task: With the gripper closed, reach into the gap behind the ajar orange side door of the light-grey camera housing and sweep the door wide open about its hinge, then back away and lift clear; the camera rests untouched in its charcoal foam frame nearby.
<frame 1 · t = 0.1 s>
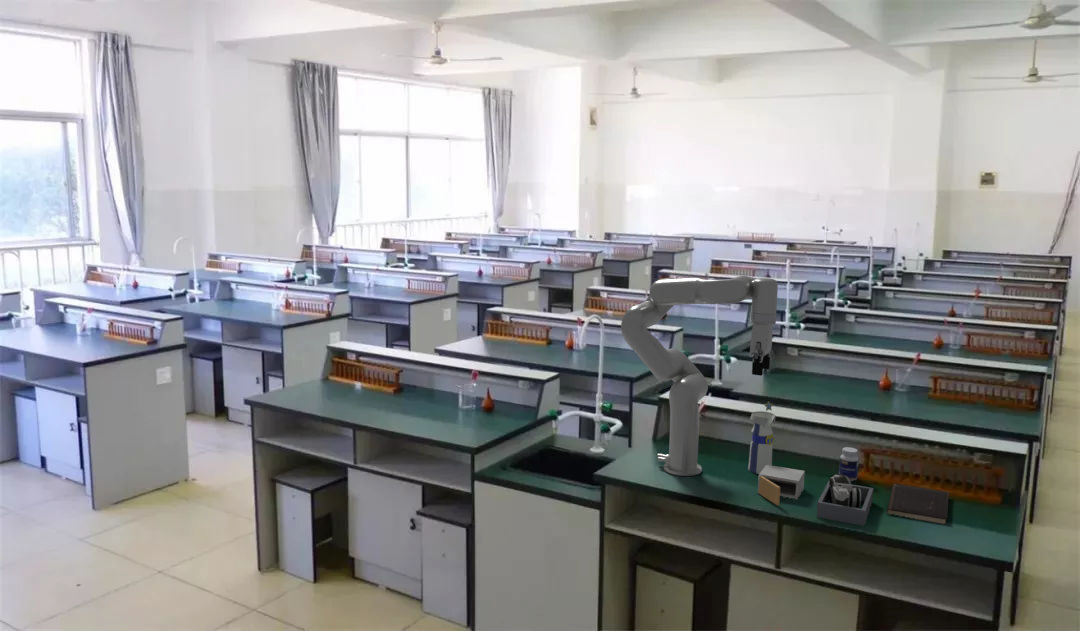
hand: (760, 371, 265), 37 cm above the worktop, tool pointing down, fingers open, 9 cm apart
hardcover book: (917, 508, 254), on the worktop
pill bottle: (847, 479, 276), on the worktop
camera rest: (845, 509, 250), on the worktop
housing: (780, 490, 265), on the worktop
side door: (768, 489, 257), point 3 cm above the worktop, hinge at 45.0°
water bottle: (760, 470, 283), on the worktop
camera: (844, 510, 250), resting in camera rest
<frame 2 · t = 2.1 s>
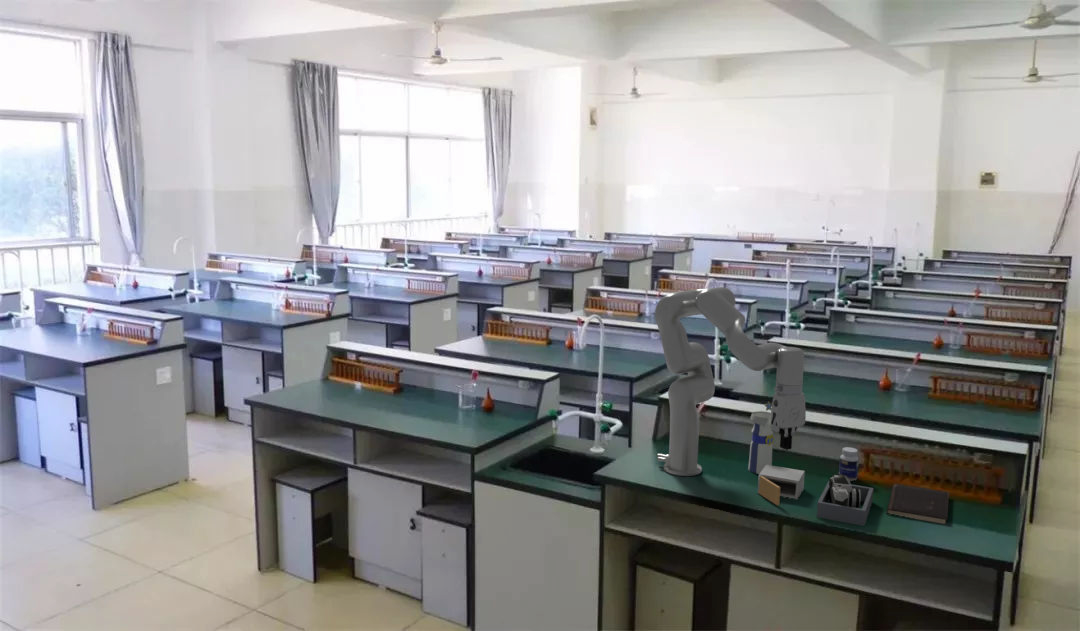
hand: (785, 448, 253), 17 cm above the worktop, tool pointing down, fingers closed
nothing on the worktop moved.
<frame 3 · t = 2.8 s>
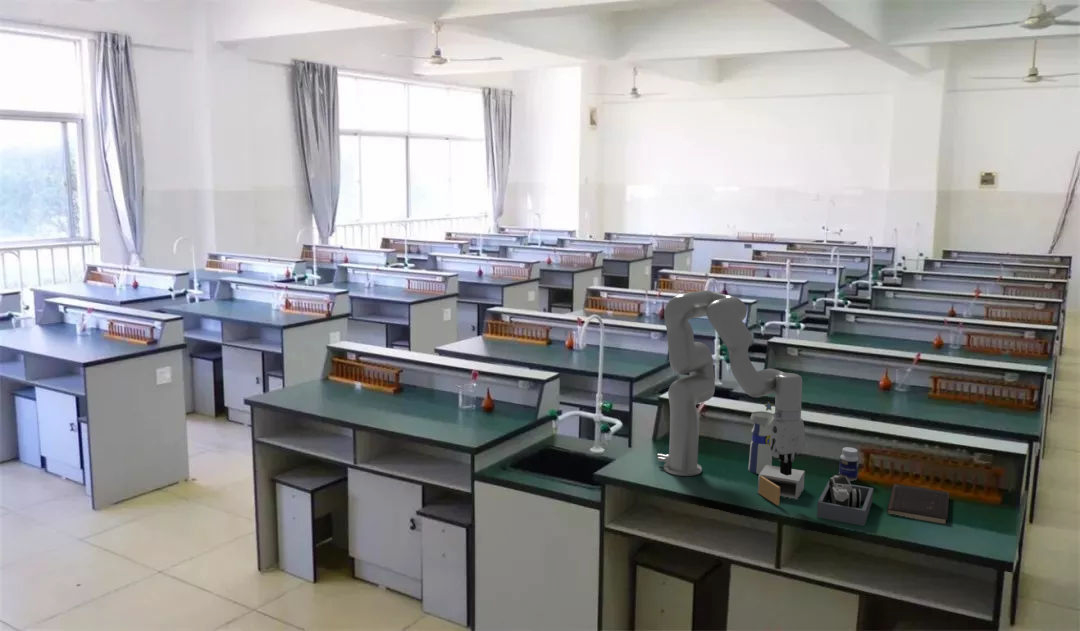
hand: (785, 473, 254), 9 cm above the worktop, tool pointing down, fingers closed
nothing on the worktop moved.
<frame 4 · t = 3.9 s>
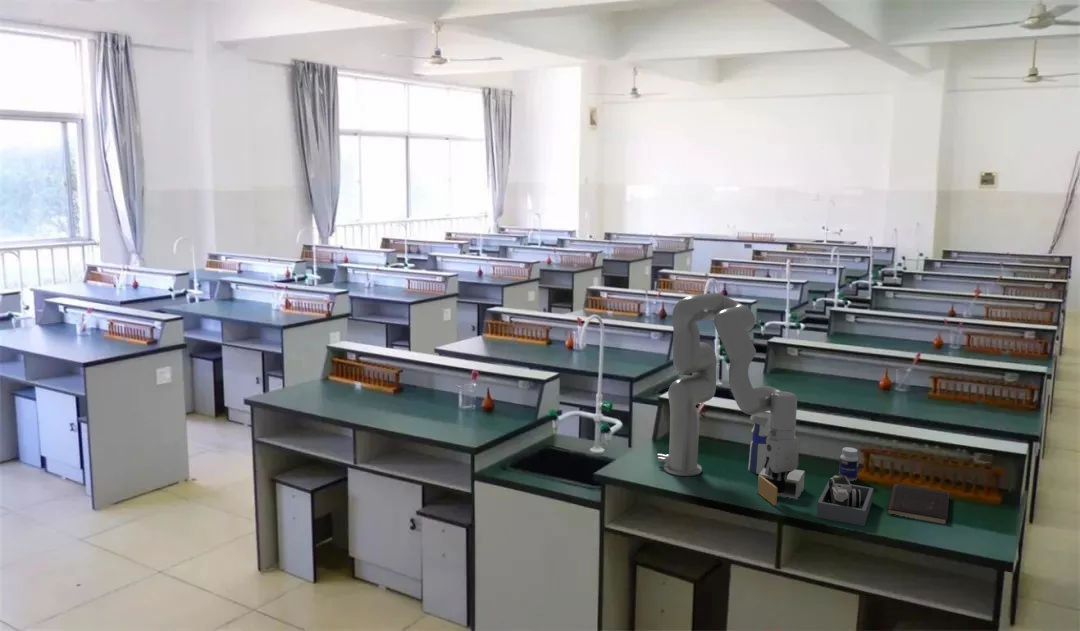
hand: (778, 491, 255), 3 cm above the worktop, tool pointing down, fingers closed
side door: (767, 490, 257), point 3 cm above the worktop, hinge at 50.3°, touching gripper
everything else where it was.
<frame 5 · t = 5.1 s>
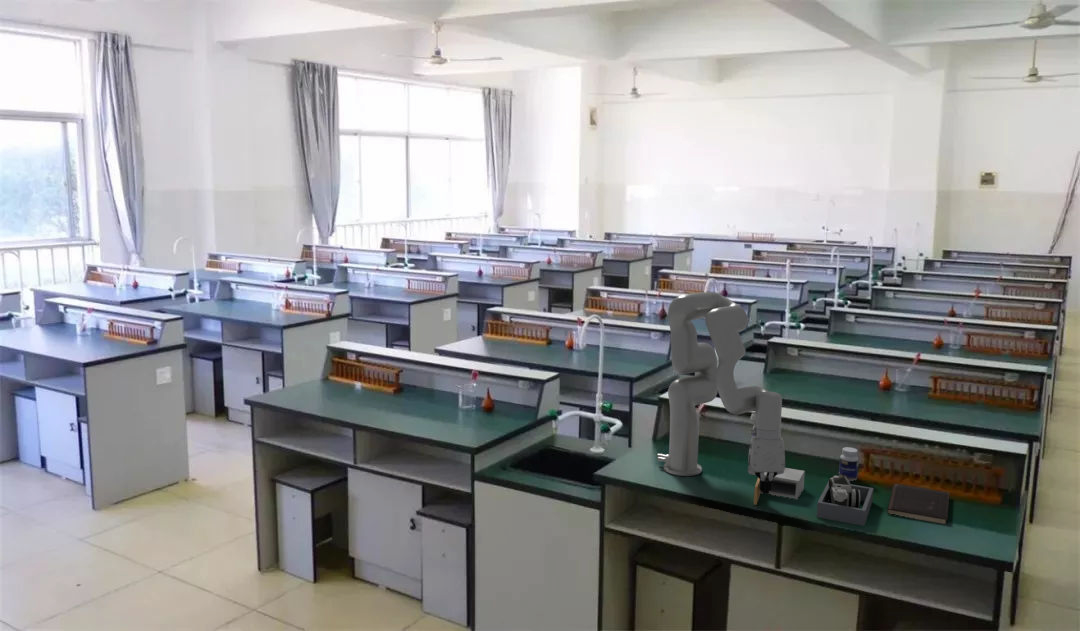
hand: (764, 492, 254), 4 cm above the worktop, tool pointing down, fingers closed
side door: (757, 489, 257), point 3 cm above the worktop, hinge at 83.6°, touching gripper
everything else where it was.
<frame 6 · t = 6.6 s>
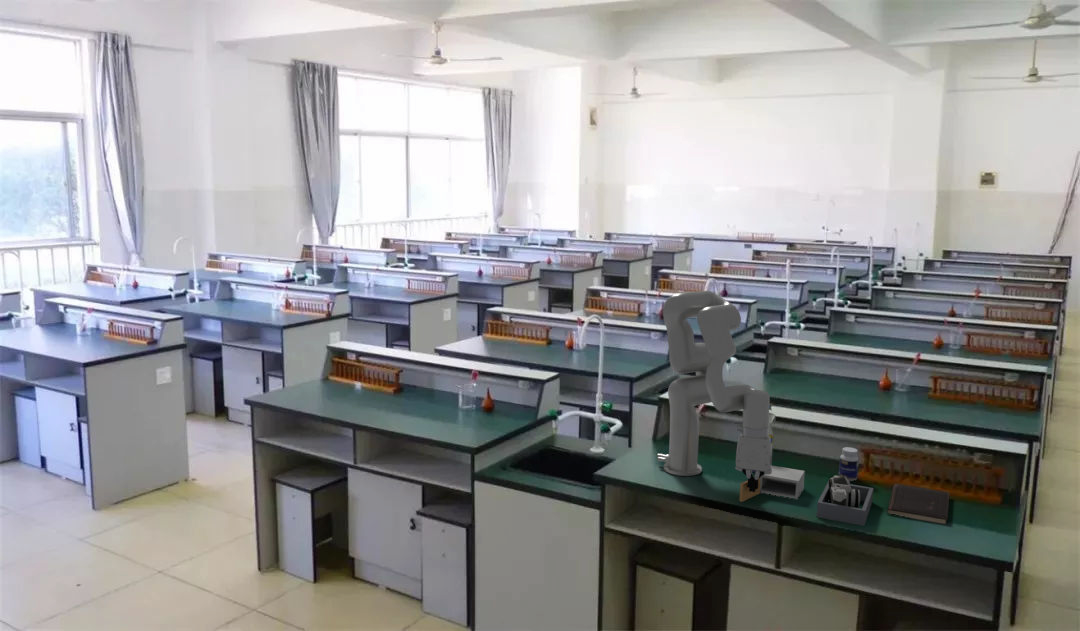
hand: (752, 490, 254), 4 cm above the worktop, tool pointing down, fingers closed
side door: (750, 488, 258), point 3 cm above the worktop, hinge at 108.4°, touching gripper
everything else where it was.
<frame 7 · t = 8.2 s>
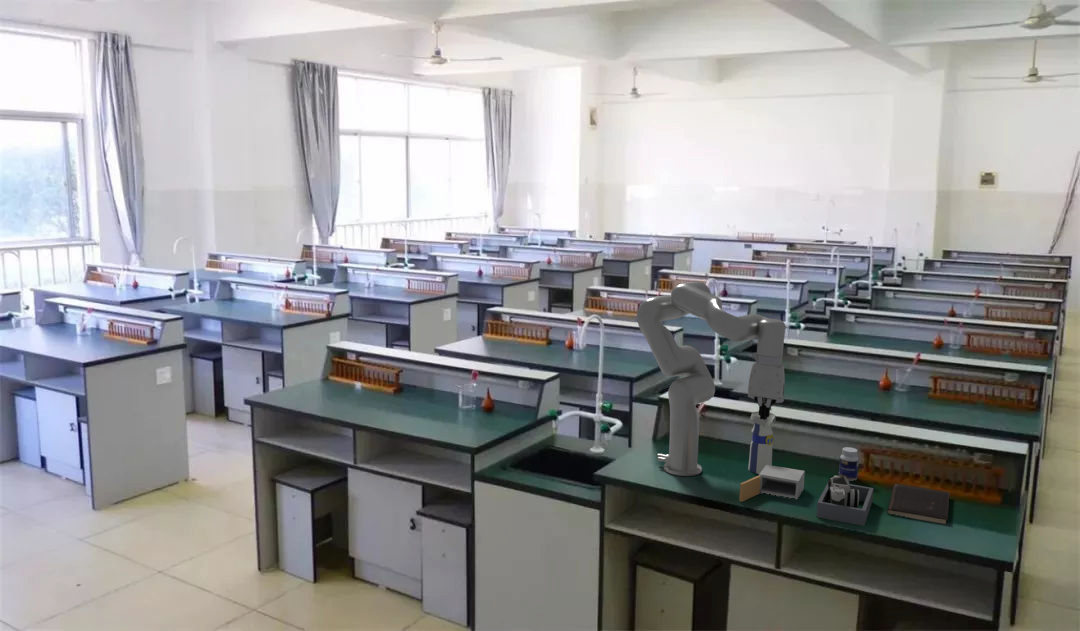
hand: (763, 418, 257), 25 cm above the worktop, tool pointing down, fingers closed
side door: (750, 488, 258), point 3 cm above the worktop, hinge at 108.6°
everything else where it was.
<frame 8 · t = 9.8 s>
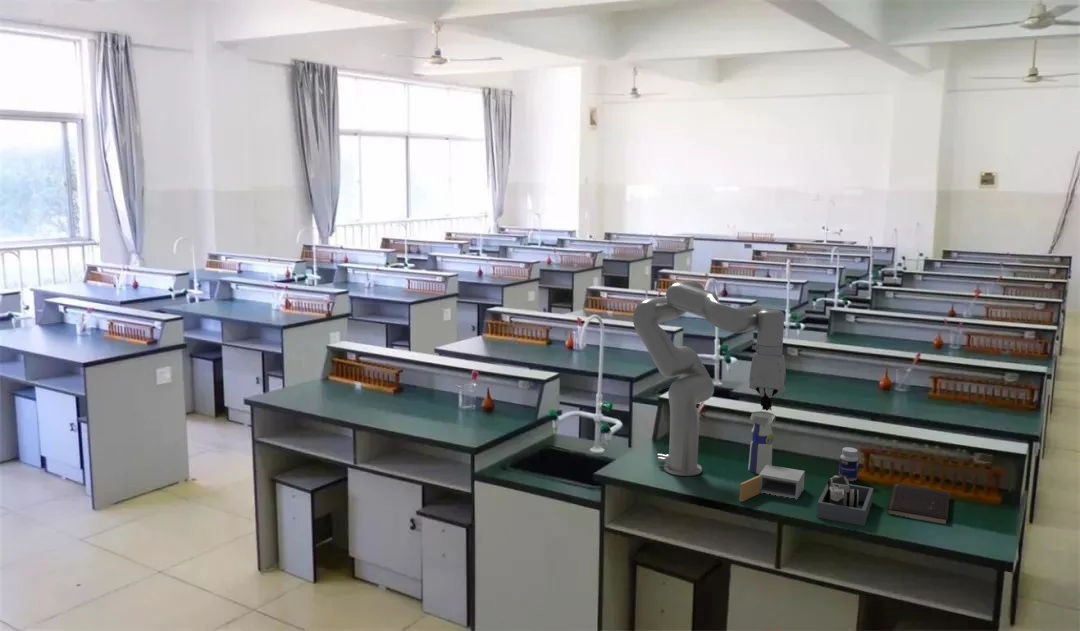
hand: (766, 408, 258), 27 cm above the worktop, tool pointing down, fingers closed
at the end: side door at +109° (first picture: +45°) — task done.
